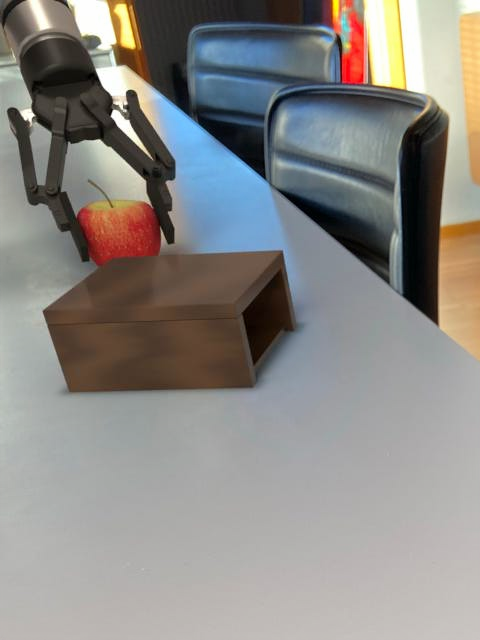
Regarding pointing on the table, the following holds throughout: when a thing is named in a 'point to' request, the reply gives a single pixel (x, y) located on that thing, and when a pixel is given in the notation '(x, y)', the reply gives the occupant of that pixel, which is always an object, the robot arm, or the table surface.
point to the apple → (119, 229)
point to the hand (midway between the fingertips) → (128, 245)
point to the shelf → (172, 322)
